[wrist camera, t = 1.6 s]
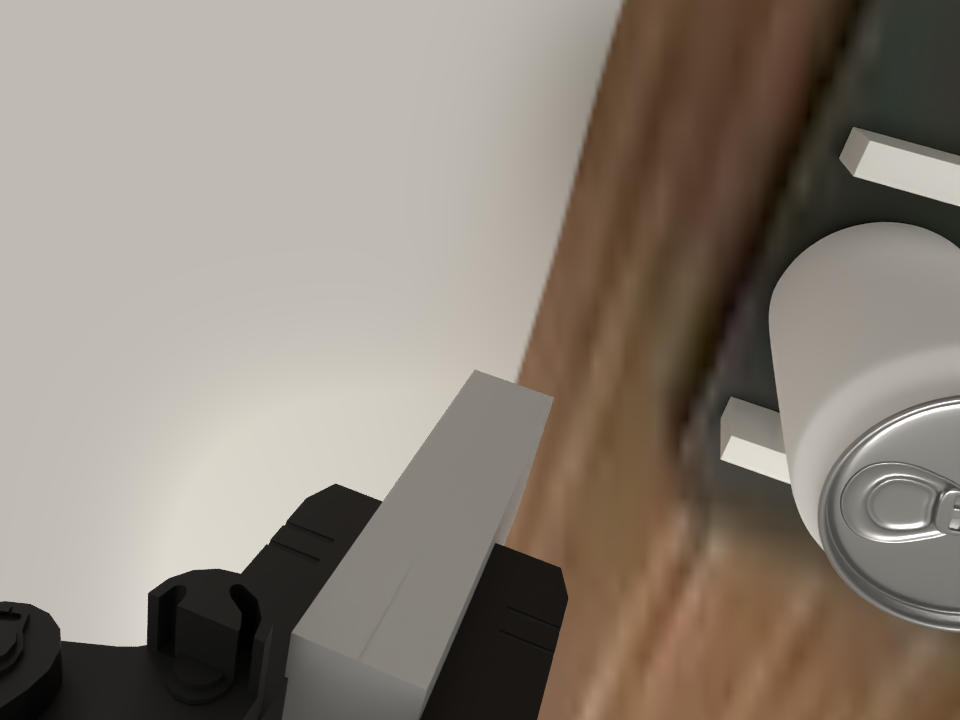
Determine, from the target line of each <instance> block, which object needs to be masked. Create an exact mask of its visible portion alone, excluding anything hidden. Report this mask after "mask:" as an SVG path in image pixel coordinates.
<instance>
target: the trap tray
mask: <svg viewBox="0 0 960 720" xmlns="http://www.w3.org/2000/svg"><path fill="white" fill-rule="evenodd" d="M839 159H840V161H841V162H842V163H843V164H844V165H845V167H846V168H847V169H848V170H849V172H850V173H851V174H852V175H853V176H855V177H858V178H862V179H865V180H869V181H872V182H876V183H879V184H883V185H886V186H890V187H893V188H897V189H900V190H904V191H907V192H911V193H914V194H918V195H921V196H925V197H928V198H932V199H935V200H939V201H942V202H946V203H950V204H953V205H957V206H960V156H958V155H955V154H951V153H947V152H944V151H940V150H936V149H933V148H929V147H925V146H922V145H918V144H914V143H911V142H907V141H903V140H900V139H896V138H893V137H889V136H885V135H882V134H878V133H874V132H871V131H867V130H863V129H860V128H856V127H853V128H852V131H851V133H850V135H849V137H848V139H847V142H846V144H845V146H844V148H843V150H842V153H841V155H840V157H839ZM720 459H721V460H724V461H727V462H729V463H732V464H735V465H738V466H741V467H744V468H746V469H749V470H752V471H755V472H758V473H761V474H763V475H766V476H769V477H772V478H775V479H778V480H780V481H783V482H786V483H789V484H791V482H790V477H789V471H788V465H787V458H786V452H785V445H784V438H783V431H782V424H781V417H780V413H779V412H776V411H773V410H770V409H767V408H764V407H761V406H758V405H755V404H752V403H749V402H746V401H743V400H740V399H737V398H734V397H730V399H729V401H728V403H727V406H726V408H725V410H724V412H723V414H722V417H721V454H720Z"/></svg>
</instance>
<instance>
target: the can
mask: <svg viewBox="0 0 960 720" xmlns="http://www.w3.org/2000/svg"><path fill="white" fill-rule="evenodd" d="M769 334H770V343H771V351H772V359H773V367H774V374H775V381H776V389H777V396H778V403H779V410H780V417H781V424H782V431H783V438H784V445H785V452H786V458H787V465H788V471H789V477H790V482H791V487H792V492H793V496H794V499H795V502H796V505H797V508H798V511H799V513H800V516H801V518H802V520H803V522H804V524H805V526H806V528H807V529H808V531H809V532H810V534H811V535H812V537H813V538H814V539H815V541H816V542H817V543H818V544H819V545H820V546H821V548H822V549H823V550H824V551H825V554H826V556H827V558H828V560H829V562H830V563H831V565H832V567H833V568H834V570H835V571H836V572H837V574H838V575H839V576H840V577H841V579H842V580H843V581H844V582H845V583H846V584H847V585H848V586H849V587H850V588H851V589H852V590H853V591H854V592H855V593H856V594H858V595H859V596H860V597H861V598H863V599H864V600H866V601H867V602H868V603H870V604H872V605H873V606H875V607H876V608H878V609H880V610H882V611H884V612H885V613H888V614H890V615H892V616H894V617H896V618H899V619H901V620H904V621H907V622H909V623H912V624H916V625H919V626H923V627H927V628H931V629H936V630H941V631H948V632H956V633H960V249H959V248H958V247H957V246H956V245H954V244H953V243H952V242H950V241H949V240H947V239H945V238H944V237H942V236H940V235H938V234H936V233H934V232H932V231H930V230H927V229H924V228H921V227H918V226H914V225H910V224H904V223H895V222H876V223H867V224H861V225H856V226H852V227H849V228H846V229H843V230H840V231H837V232H835V233H832V234H830V235H828V236H826V237H824V238H822V239H821V240H819V241H817V242H816V243H814V244H813V245H811V246H810V247H809V248H807V249H806V250H805V251H803V252H802V253H801V254H800V255H799V256H798V257H797V258H796V259H795V260H794V261H793V262H792V263H791V264H790V266H789V267H788V268H787V269H786V271H785V272H784V273H783V275H782V276H781V278H780V279H779V281H778V283H777V285H776V287H775V289H774V291H773V294H772V297H771V302H770V308H769Z"/></svg>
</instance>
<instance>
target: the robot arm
mask: <svg viewBox="0 0 960 720" xmlns="http://www.w3.org/2000/svg"><path fill="white" fill-rule="evenodd" d="M553 400H554V397H551V396H549V395H546V394H543V393H540V392H537V391H534V390H531V389H529V388H526V387H523V386H520V385H517V384H514V383H511V382H509V381H505V380H503V379H500V378H497V377H494V376H491V375H488V374H485V373H482V372H480V371H477V370H474V372H473V373H472V375H471V376H470V378H469V379H468V380H467V382H466V383H465V385H464V386H463V388H462V389H461V390H460V392H459V393H458V395H457V396H456V398H455V399H454V400H453V402H452V403H451V405H450V406H449V408H448V409H447V410H446V412H445V413H444V415H443V416H442V418H441V419H440V420H439V422H438V423H437V425H436V426H435V428H434V429H433V431H432V432H431V433H430V435H429V436H428V438H427V439H426V441H425V442H424V444H423V445H422V446H421V448H420V449H419V451H418V452H417V453H416V455H415V456H414V458H413V459H412V461H411V462H410V463H409V465H408V466H407V468H406V469H405V471H404V472H403V473H402V475H401V476H400V478H399V479H398V481H397V482H396V483H395V485H394V487H393V488H392V489H391V491H390V492H389V494H388V495H387V496H386V498H385V499H384V501H383V502H382V501H380V500H377V499H374V498H372V497H369V496H367V495H364V494H361V493H359V492H356V491H354V490H351V489H348V488H346V487H343V486H341V485H338V484H334V485H332V486H330V487H328V488H326V489H324V490H322V491H320V492H318V493H316V494H314V495H312V496H310V497H308V498H306V499H305V500H304V502H303V503H302V504H301V505H300V506H299V507H298V509H297V510H296V511H295V512H294V513H293V514H292V516H291V517H290V518H289V519H288V520H287V522H286V525H285V526H282V527H281V528H280V529H279V531H278V532H277V533H276V534H275V535H274V536H273V537H272V539H271V541H270V543H269V545H266V546H265V547H264V548H263V549H262V550H261V551H260V552H259V554H258V555H257V556H256V557H255V558H254V559H253V561H252V562H251V563H250V564H249V565H248V566H247V568H246V569H245V570H244V571H243V572H242V573H241V574H239V573H235V572H230V571H226V570H222V569H208V570H207V569H206V570H192V571H190V572H186V573H184V574H181V575H178V576H175V577H172V578H169V579H167V580H166V581H165V582H163V583H162V584H160V585H159V586H158V587H156V588H155V589H153V590H152V591H150V592H149V593H148V627H147V628H148V629H147V645H145V646H139V647H115V646H106V645H96V644H87V643H76V642H67V641H61V637H60V628H59V627H58V625H57V624H56V623H55V621H54V620H53V618H52V617H51V616H50V614H49V613H47V612H45V611H43V610H41V609H39V608H37V607H35V606H33V605H31V604H25V603H15V602H6V601H4V602H0V720H537V718H538V714H539V710H540V706H541V702H542V698H543V695H544V691H545V687H546V683H547V679H548V675H549V671H550V667H551V664H552V660H553V655H554V652H555V648H556V644H557V640H558V636H559V631H560V628H561V625H562V621H563V617H564V613H565V609H566V606H567V602H568V595H567V591H566V587H565V583H564V579H563V575H562V571H561V568H560V567H557V566H554V565H552V564H549V563H547V562H544V561H541V560H539V559H536V558H534V557H531V556H528V555H526V554H523V553H521V552H518V551H515V550H513V549H510V548H508V547H505V546H504V544H505V542H506V539H507V537H508V534H509V532H510V529H511V527H512V524H513V522H514V520H515V517H516V514H517V511H518V508H519V505H520V502H521V499H522V496H523V493H524V490H525V486H526V483H527V480H528V477H529V474H530V471H531V468H532V465H533V462H534V459H535V455H536V452H537V449H538V446H539V443H540V440H541V437H542V434H543V431H544V427H545V424H546V421H547V418H548V415H549V412H550V409H551V406H552V403H553Z"/></svg>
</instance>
